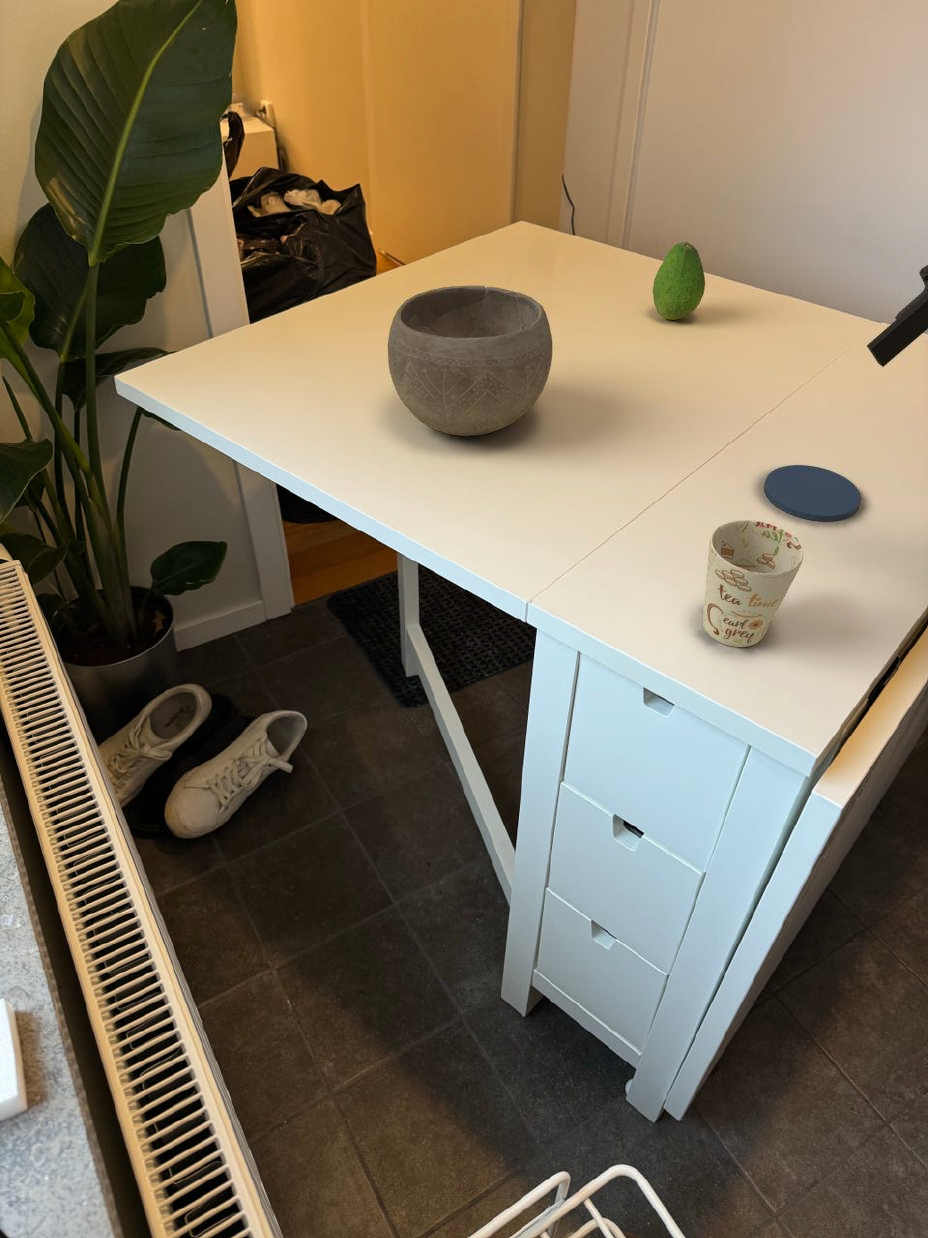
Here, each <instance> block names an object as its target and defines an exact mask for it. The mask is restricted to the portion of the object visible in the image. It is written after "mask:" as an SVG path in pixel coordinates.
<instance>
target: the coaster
mask: <svg viewBox="0 0 928 1238" xmlns="http://www.w3.org/2000/svg"><path fill="white" fill-rule="evenodd" d="M763 491H764V494H765V496H766V498H767V499H768V500H769V501H770V503H772V504H773V505H774V506H775V507H776V508H779V510H781V511H783V512H785V513H787V514H790V515H792V516H794V517H798V518H801V519H805V520H809V521H816V522H837V521H841V520H845V519H847V518H850V517H851V516H853V515H855V513H857V511H858V510H859V508H860V505H861V502H862V495H861V492H860V490H859V489H858V487H857V486H856V484H854V483H853V482H852V481H851V480H849V479H848V478H847V477H845V476H843V475H841V474H839V473H837V472H835V471H832V470H830V469H826V468H823V467H819V466H814V465H808V464H792V465H784V466H781V467H777V468H776V469H773V470H772V471H771V472H769V473H768V475H767V476H766V478H765V480H764V483H763Z"/></svg>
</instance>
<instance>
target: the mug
mask: <svg viewBox="0 0 928 1238" xmlns="http://www.w3.org/2000/svg"><path fill="white" fill-rule="evenodd" d="M708 545H709V546H708V554H707V555H708V556H707V564H706V565H707V567H706V577H705V588H704V600H703V609H702V626H703V629H704V630H705V632H706V633H707V635H709V637H711V639H713V640H715V641H716V642H719V643H720V644H723V645H725V646H729V647H735V648H745V647H746V648H747V647H751V646H754V645H756V644H758V643H760V642H761V640H763V638H764V637H765V634H767V631H768V629H769V627H770V625H771V624H772V621H773V619H774V618H775V616H776V614H777V613H778V611H779V608H780V606H781V605H782V602H783V601H784V599H785V597H786V595H787V593H788V591H789V589H790V588H791V585H792V583H793V582H794V579H795V577H796V576H797V574H798V572H799V570H800V568H801V566H802V563H803V560H804V550H803V547H802V545H801V544H800V541H799V538H797V536H795V535H792V534H791V533H790V532H788V531H786V530H784V529H783V528H781V527H778V526H776V525H773V524H770V523H767V522H763V521H758V520H749V519H747V520H746V519H745V520H743V519H742V520H733V521H729V522H726V523H723V524H722V525H720V526H718V527H717V528H716V529H714V531H713V532H712V534H711V536H710V538H709V544H708Z"/></svg>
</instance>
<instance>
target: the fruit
mask: <svg viewBox="0 0 928 1238" xmlns="http://www.w3.org/2000/svg"><path fill="white" fill-rule="evenodd" d="M652 285H653V286H652V295H653V296H652V298H653V304H654V307H655V309H656V312H658V314H659V315H660V316H661V317H663V318H664V319H665V320H671V321H676V320H682V319H683V318H685V317H688V316H689V315H690V314H692V313H693V312H694V311H695V310H696V309H697V308H698V307H699V304H700V303H701V300H702V299H703V296H704V293H705V288H706V277H705V272H704V267H703V263H702V261H701V257H700V255H699V252H698V250H697V249H696V247H695V246H694V245H693V244H691V243H689V242H688V241H683V242H677V243H676V244H675V245H674V246H672V247H671V248H670V249H669V251H668V252H667V254H666V255H665V258H664V259H663V262H662V263H661V265H660V266H659V268H658V270H657V272H656V274H655V276H654V279H653V284H652Z"/></svg>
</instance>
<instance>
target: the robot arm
mask: <svg viewBox="0 0 928 1238" xmlns="http://www.w3.org/2000/svg"><path fill="white" fill-rule="evenodd" d="M918 272H919V277H920V278H921V280H922V283H923V285H924V288H923V290H922V291H921V292H920V293H919V294H918V295H917V296H916V297H915V298H914V299H912V300H911V301H910V302H909V303H908V304H906V305H905V306H904V308H902V309H901V310H900V311H898V313H897V315H896V316H895V317H894V319H895V320H894V321H893V322H892V323H891V324H890V325H889V326H887V327H886V328H885V329H884V330H883V331H882V332H881V333H879V334H878V335H877V336H876V337H875V338H874V339H872V340H871V341H869V343H868V344H866V347H867V349H868V350H869V352H870V353H871V355H872V356H873V358H874V359H875V361H876V362H877V364H878V365H879V366H881V367H882V368H884V367H885V366H886V365H888V363H890V362H891V361H892V360H893V359H895V358H897V356H898V355H900V353H902V352H903V351H904V350H905V349H906V348H908V347H909V346H910V345H911V344H913V342H914V341H916V340H917V339H918V338H919V337H920V336H922V335H923V334H924V333H925V332H927V331H928V264H927V265H925V266H923V267H922V268H921V269H920V270H919V271H918Z"/></svg>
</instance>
